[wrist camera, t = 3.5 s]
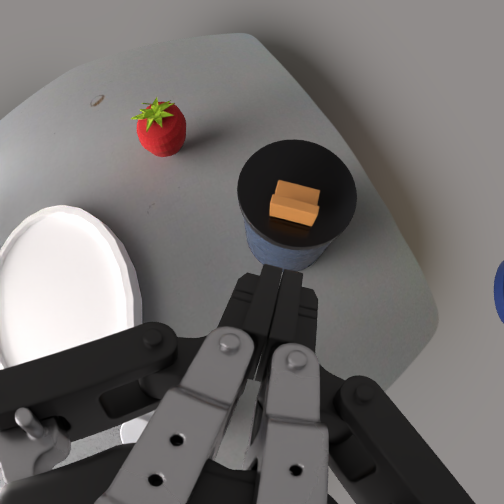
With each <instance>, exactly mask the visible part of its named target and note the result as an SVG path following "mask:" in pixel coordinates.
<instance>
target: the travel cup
mask: <svg viewBox="0 0 504 504" xmlns="http://www.w3.org/2000/svg"><path fill="white" fill-rule="evenodd" d="M279 180H282V181H286V182H290V183H294V184H298V185H302V186H305V187H309V188H313V189H317V190H320V194H319V199H318V204H317V206H319V212H318V216H317V218H316V220H315V222H314V224H313V225H312V226H308V225H304V224H301V223H297V222H293V221H289V220H285V219H281V218H277V217H273V216H270V202H271V198H272V195H273V194H274V195H275V191H276V188H277V184H278V181H279ZM237 193H238V200H239V206H240V209H241V212H242V215H243V217H244V223H245V229H246V236H247V241H248V245H249V247H250V249H251V251H252V253H253V255H254V256H255V257H256V258H257V259H258V260H259V261H260V262H261V263H262V264H263V265H264V263H265V264H269V265H272V266H276V267H280V268H283V270H282V272H283V271H284V269H288V270H292V271H299V270H302V269H305V268H306V267H308V266H310V265H311V264H313V263H314V262H315V261H316V260H317V259H318V257H319V256H320V255H321V254H322V253H323V251H324V250H325V249H326V248H327V246H328V245H329V244H330V243H331V242H332V241H333V240H334V239H336V238H337V237H338V236H339V235H340V234H341V233H342V232H343V231H344V230H345V228H346V227H347V226H348V224H349V223H350V221H351V219H352V217H353V215H354V212H355V208H356V202H357V193H356V187H355V183H354V180H353V177H352V175H351V173H350V171H349V170H348V168H347V167H346V165H345V164H344V163H343V162H342V161H341V159H340V158H338V157H337V156H336V155H335V154H334V153H332V152H331V151H330V150H328V149H326V148H324V147H323V146H320V145H318V144H315V143H312V142H309V141H304V140H283V141H278V142H274V143H271V144H269V145H266V146H265V147H263V148H261V149H260V150H258V151H257V152H255V153H254V154H253V155H252V156H251V157H250V158H249V159H248V161H247V162H246V163H245V165H244V167H243V168H242V171H241V173H240V176H239V180H238V186H237Z"/></svg>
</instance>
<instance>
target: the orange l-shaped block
mask: <svg viewBox="0 0 504 504" xmlns="http://www.w3.org/2000/svg"><path fill="white" fill-rule="evenodd" d="M319 194H320V190H317V189H313V188H309V187H305V186H302V185H298V184H294V183H290V182H286V181H282V180H279V181H278V184H277V188H276V191H275V195H274V194H273V195H272V198H271V202H270V216H273V217H277V218H281V219H285V220H289V221H293V222H297V223H301V224H304V225H308V226H312V225H313V224H314V222H315V220H316V218H317V216H318V212H319V206H317V204H318V199H319Z"/></svg>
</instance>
